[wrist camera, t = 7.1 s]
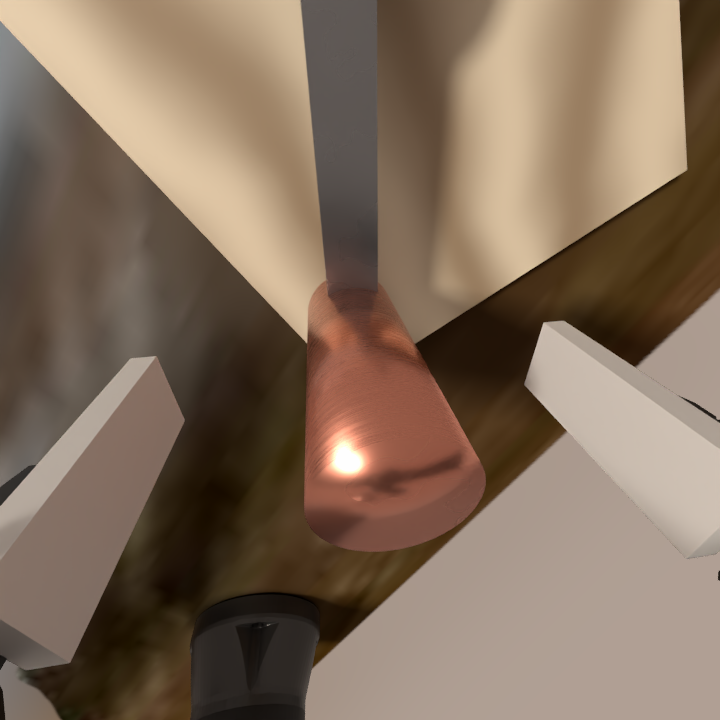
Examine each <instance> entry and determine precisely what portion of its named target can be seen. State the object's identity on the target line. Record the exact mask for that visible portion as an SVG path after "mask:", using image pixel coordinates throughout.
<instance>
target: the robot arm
mask: <svg viewBox="0 0 720 720" xmlns="http://www.w3.org/2000/svg"><path fill="white" fill-rule="evenodd" d="M524 385H525V386H526V387H527V388H528V389H529V390H530V391H531V392H532V394H533V395H534V396H535V397H536V398H537V399H538V400H539V401H540V402H541V403H542V404H543V405H544V406H545V408H546V409H547V410H548V411H549V412H550V413H551V414H552V415H553V416H554V417H555V418H556V419H557V420H558V422H559V423H560V424H561V425H562V426H563V427H564V428H565V429H566V430H567V431H568V432H569V433H570V434H571V435H572V437H573V438H574V439H575V440H576V441H577V442H578V443H579V444H580V445H581V446H582V447H583V448H584V450H585V451H586V452H587V453H588V454H589V455H590V456H591V457H592V458H593V459H594V460H595V461H596V462H597V463H598V465H599V466H600V467H601V468H602V469H603V470H604V471H605V472H606V473H607V474H608V475H609V476H610V478H611V479H612V480H613V481H614V482H615V483H616V484H617V485H618V486H619V487H620V488H621V489H622V490H623V492H624V493H625V494H626V495H627V496H628V497H629V498H630V499H631V500H632V501H633V502H634V503H635V504H636V505H637V507H638V508H639V509H640V510H641V511H642V512H643V513H644V514H645V515H646V516H647V517H648V518H649V519H650V521H651V522H652V523H653V524H654V525H655V526H656V527H657V528H658V529H659V530H660V531H661V532H662V534H663V535H664V536H665V537H666V538H667V539H668V540H669V541H670V542H671V543H672V544H673V545H674V546H675V548H677V550H678V551H679V552H680V553H681V554H682V555H683V556H684V557H685V558H686V559H689V558H695V557H702V556H708V555H714V554H717V553H718V552H719V551H720V420H717V419H716V416H714V415H713V414H711V413H709V412H708V411H707V410H705V409H703V408H702V407H700V406H699V405H697V404H696V403H694V402H691V401H689V400H687V399H685V398H683V397H680V396H678V395H676V394H675V393H673V392H672V391H670V390H669V389H667V388H665V387H664V386H663V385H661V384H659V383H658V382H656V381H655V380H653V379H652V378H650V377H649V376H647V375H646V374H644V373H643V372H641V371H640V370H638V369H637V368H635V367H634V366H632V365H631V364H629V363H627V362H626V361H624V360H623V359H621V358H620V357H618V356H617V355H615V354H614V353H612V352H611V351H609V350H608V349H606V348H605V347H603V346H602V345H600V344H599V343H597V342H595V341H594V340H592V339H591V338H589V337H588V336H586V335H585V334H583V333H582V332H580V331H579V330H577V329H576V328H574V327H573V326H571V325H570V324H568V323H567V322H565V321H555V322H544V323H543V326H542V329H541V333H540V336H539V339H538V342H537V345H536V348H535V352H534V355H533V358H532V361H531V364H530V368H529V371H528V374H527V377H526V380H525V383H524ZM184 421H185V420H184V418H183V415H182V413H181V411H180V409H179V406H178V404H177V402H176V400H175V397H174V395H173V393H172V390H171V388H170V386H169V384H168V381H167V379H166V377H165V375H164V372H163V370H162V368H161V366H160V363H159V361H158V359H157V356H154V357H142V358H131V359H130V360H129V361H128V362H127V363H126V364H125V366H124V367H123V368H122V369H121V370H120V371H119V372H118V374H117V375H116V376H115V377H114V378H113V379H112V380H111V381H110V383H109V384H108V385H107V386H106V387H105V388H104V389H103V391H102V392H101V393H100V394H99V395H98V396H97V397H96V398H95V400H94V401H93V402H92V403H91V404H90V405H89V406H88V408H87V409H86V410H85V411H84V412H83V413H82V414H81V415H80V417H79V418H78V419H77V420H76V421H75V422H74V423H73V425H72V426H71V427H70V428H69V429H68V430H67V431H66V432H65V434H64V435H63V436H62V437H61V438H60V439H59V440H58V442H57V443H56V444H55V445H54V446H53V447H52V448H51V449H50V451H49V452H48V453H47V454H46V455H45V456H44V457H43V459H42V460H41V461H40V462H39V463H38V464H37V465H31V466H28V467H27V468H25V469H24V470H23V471H21V472H20V473H19V474H17V475H16V476H15V477H13V478H12V479H11V480H9V481H8V482H6V483H5V484H4V485H2V486H1V487H0V669H1V668H2V666H3V664H4V663H5V661H6V660H8V661H9V662H12V663H13V664H15V665H17V666H19V667H21V668H23V669H25V670H30V669H36V668H42V667H48V666H54V665H60V664H66V663H70V662H71V659H72V657H73V655H74V653H75V651H76V649H77V647H78V645H79V643H80V640H81V638H82V636H83V634H84V632H85V630H86V628H87V626H88V624H89V622H90V619H91V617H92V615H93V613H94V611H95V609H96V607H97V605H98V603H99V600H100V598H101V596H102V594H103V592H104V590H105V588H106V586H107V584H108V581H109V579H110V577H111V575H112V573H113V571H114V569H115V567H116V565H117V562H118V560H119V558H120V556H121V554H122V552H123V550H124V548H125V546H126V543H127V541H128V539H129V537H130V535H131V533H132V531H133V529H134V527H135V524H136V522H137V520H138V518H139V516H140V514H141V512H142V510H143V508H144V505H145V503H146V501H147V499H148V497H149V495H150V493H151V491H152V489H153V486H154V484H155V482H156V480H157V478H158V476H159V474H160V472H161V470H162V467H163V465H164V463H165V461H166V459H167V457H168V455H169V453H170V451H171V448H172V446H173V444H174V442H175V440H176V438H177V436H178V434H179V432H180V429H181V427H182V425H183V423H184ZM718 580H720V571H719V572H718ZM319 636H320V614H319V610H318V609H317V607H316V606H315V605H313V604H312V603H310V602H309V601H306V600H304V599H301V598H297V597H293V596H287V595H274V594H267V595H253V596H246V597H240V598H236V599H232V600H228V601H225V602H222V603H219V604H217V605H215V606H213V607H211V608H209V609H207V610H206V611H204V612H203V613H202V614H201V615H200V616H199V617H198V618H197V620H196V623H195V627H194V631H193V635H192V639H191V643H190V653H191V718H190V720H305V699H306V693H307V689H308V684H309V679H310V674H311V670H312V665H313V659H314V654H315V648H316V646H317V644H318V640H319ZM0 720H5V712H4V701H3V691H2V689H1V687H0Z"/></svg>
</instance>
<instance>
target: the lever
mask: <svg viewBox="0 0 720 720" xmlns="http://www.w3.org/2000/svg"><path fill="white" fill-rule="evenodd" d="M300 6H301V17H302V27H303V38H304V49H305V60H306V71H307V81H308V92H309V103H310V114H311V124H312V135H313V146H314V157H315V167H316V178H317V189H318V200H319V211H320V221H321V232H322V243H323V254H324V264H325V275H326V280H325V281H324V282H323V283H321V284H320V285H319V286H318V287H317V289H316V290H315V291H314V293H313V295H312V296H311V299H310V302H309V306H308V331H307V387H306V442H305V498H304V510H305V517H306V520H307V523H308V524H309V526H310V528H311V529H312V530H313V531H314V532H315V533H316V534H317V535H318V536H319V537H320V538H322V539H323V540H325V541H327V542H329V543H331V544H333V545H336V546H338V547H342V548H345V549H350V550H356V551H371V552H376V551H389V550H397V549H402V548H407V547H410V546H414V545H417V544H420V543H424V542H426V541H429V540H431V539H434V538H436V537H438V536H440V535H442V534H444V533H445V532H447V531H449V530H451V529H452V528H454V527H455V526H456V525H458V524H459V523H460V522H462V521H463V520H464V519H465V518H466V517H467V516H468V515H469V514H470V513H471V512H472V511H473V510H474V508H475V507H476V506H477V505H478V503H479V501H480V499H481V498H482V495H483V492H484V489H485V484H486V476H485V472H484V468H483V466H482V464H481V462H480V461H479V459H478V457H477V455H476V453H475V452H474V450H473V448H472V446H471V444H470V442H469V441H468V439H467V437H466V435H465V433H464V432H463V430H462V428H461V426H460V424H459V423H458V421H457V419H456V417H455V415H454V413H453V412H452V410H451V408H450V406H449V404H448V403H447V401H446V399H445V397H444V395H443V394H442V392H441V390H440V388H439V386H438V384H437V383H436V381H435V379H434V377H433V375H432V374H431V372H430V370H429V368H428V366H427V365H426V363H425V361H424V359H423V357H422V355H421V354H420V352H419V350H418V348H417V346H416V345H415V343H414V341H413V339H412V337H411V336H410V334H409V332H408V330H407V328H406V326H405V325H404V323H403V321H402V319H401V317H400V316H399V314H398V312H397V310H396V308H395V307H394V305H393V303H392V301H391V299H390V297H389V296H388V294H387V292H386V290H385V289H384V288H383V286H382V285H381V284H380V283H379V282H378V164H377V0H300Z"/></svg>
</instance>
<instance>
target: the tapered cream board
mask: <svg viewBox="0 0 720 720" xmlns="http://www.w3.org/2000/svg"><path fill="white" fill-rule="evenodd" d="M0 21H1V22H2V23H3V24H4V25H5V26H6V27H7V28H8V29H9V30H10V32H11V33H12V34H13V35H14V36H15V37H16V38H17V39H18V40H19V41H20V42H21V43H22V44H23V45H24V46H25V47H26V48H27V49H28V50H29V52H30V53H31V54H32V55H33V56H34V57H35V58H36V59H37V60H38V61H39V62H40V63H41V64H42V65H43V66H44V67H45V68H46V69H47V70H48V71H49V73H50V74H51V75H52V76H53V77H54V78H55V79H56V80H57V81H58V82H59V83H60V84H61V85H62V86H63V87H64V88H65V89H66V90H67V91H68V93H69V94H70V95H71V96H72V97H73V98H74V99H75V100H76V101H77V102H78V103H79V104H80V105H81V106H82V107H83V108H84V109H85V110H86V111H87V112H88V114H89V115H90V116H91V117H92V118H93V119H94V120H95V121H96V122H97V123H98V124H99V125H100V126H101V127H102V128H103V129H104V130H105V131H106V132H107V134H108V135H109V136H110V137H111V138H112V139H113V140H114V141H115V142H116V143H117V144H118V145H119V146H120V147H121V148H122V149H123V150H124V151H125V152H126V153H127V155H128V156H129V157H130V158H131V159H132V160H133V161H134V162H135V163H136V164H137V165H138V166H139V167H140V168H141V169H142V170H143V171H144V172H145V173H146V175H147V176H148V177H149V178H150V179H151V180H152V181H153V182H154V183H155V184H156V185H157V186H158V187H159V188H160V189H161V190H162V191H163V192H164V193H165V194H166V196H167V197H168V198H169V199H170V200H171V201H172V202H173V203H174V204H175V205H176V206H177V207H178V208H179V209H180V210H181V211H182V212H183V213H184V214H185V216H186V217H187V218H188V219H189V220H190V221H191V222H192V223H193V224H194V225H195V226H196V227H197V228H198V229H199V230H200V231H201V232H202V233H203V234H204V235H205V237H206V238H207V239H208V240H209V241H210V242H211V243H212V244H213V245H214V246H215V247H216V248H217V249H218V250H219V251H220V252H221V253H222V254H223V255H224V257H225V258H226V259H227V260H228V261H229V262H230V263H231V264H232V265H233V266H234V267H235V268H236V269H237V270H238V271H239V272H240V273H241V274H242V275H243V276H244V278H245V279H246V280H247V281H248V282H249V283H250V284H251V285H252V286H253V287H254V288H255V289H256V290H257V291H258V292H259V293H260V294H261V295H262V296H263V298H264V299H265V300H266V301H267V302H268V303H269V304H270V305H271V306H272V307H273V308H274V309H275V310H276V311H277V312H278V313H279V314H280V315H281V316H282V317H283V319H284V320H285V321H286V322H287V323H288V324H289V325H290V326H291V327H292V328H293V329H294V330H295V331H296V332H297V333H298V334H299V335H300V336H301V337H302V339H303V340H304V341H305V342H306V343H307V331H308V306H309V302H310V299H311V296H312V295H313V293H314V291H315V290H316V289H317V287H318V286H319V285H320V284H321V283H323V282H324V281H325V280H326V275H325V264H324V254H323V243H322V232H321V221H320V211H319V200H318V189H317V178H316V167H315V157H314V146H313V135H312V124H311V114H310V103H309V92H308V81H307V71H306V60H305V49H304V38H303V27H302V17H301V6H300V0H0ZM377 164H378V282H379V283H380V284H381V285H382V286H383V288H384V289H385V290H386V292H387V294H388V296H389V297H390V299H391V301H392V303H393V305H394V307H395V308H396V310H397V312H398V314H399V316H400V317H401V319H402V321H403V323H404V325H405V326H406V328H407V330H408V332H409V334H410V336H411V337H412V339H413V341H414V343H417V342H418V341H420V340H422V339H423V338H425V337H426V336H428V335H429V334H431V333H433V332H434V331H436V330H437V329H439V328H440V327H442V326H444V325H445V324H447V323H448V322H450V321H451V320H453V319H454V318H456V317H458V316H459V315H461V314H462V313H464V312H465V311H467V310H469V309H470V308H472V307H473V306H475V305H476V304H478V303H479V302H481V301H483V300H484V299H486V298H487V297H489V296H490V295H492V294H494V293H495V292H497V291H498V290H500V289H501V288H503V287H504V286H506V285H508V284H509V283H511V282H512V281H514V280H515V279H517V278H519V277H520V276H522V275H523V274H525V273H526V272H528V271H530V270H531V269H533V268H534V267H536V266H537V265H539V264H540V263H542V262H544V261H545V260H547V259H548V258H550V257H551V256H553V255H555V254H556V253H558V252H559V251H561V250H562V249H564V248H565V247H567V246H569V245H570V244H572V243H573V242H575V241H576V240H578V239H580V238H581V237H583V236H584V235H586V234H587V233H589V232H591V231H592V230H594V229H595V228H597V227H598V226H600V225H601V224H603V223H605V222H606V221H608V220H609V219H611V218H612V217H614V216H616V215H617V214H619V213H620V212H622V211H623V210H625V209H626V208H628V207H630V206H631V205H633V204H634V203H636V202H637V201H639V200H641V199H642V198H644V197H645V196H647V195H648V194H650V193H652V192H653V191H655V190H656V189H658V188H659V187H661V186H662V185H664V184H666V183H667V182H669V181H670V180H672V179H673V178H675V177H677V176H678V175H680V174H681V173H683V172H684V171H686V170H687V158H686V137H685V116H684V95H683V74H682V53H681V32H680V11H679V0H377Z"/></svg>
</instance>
